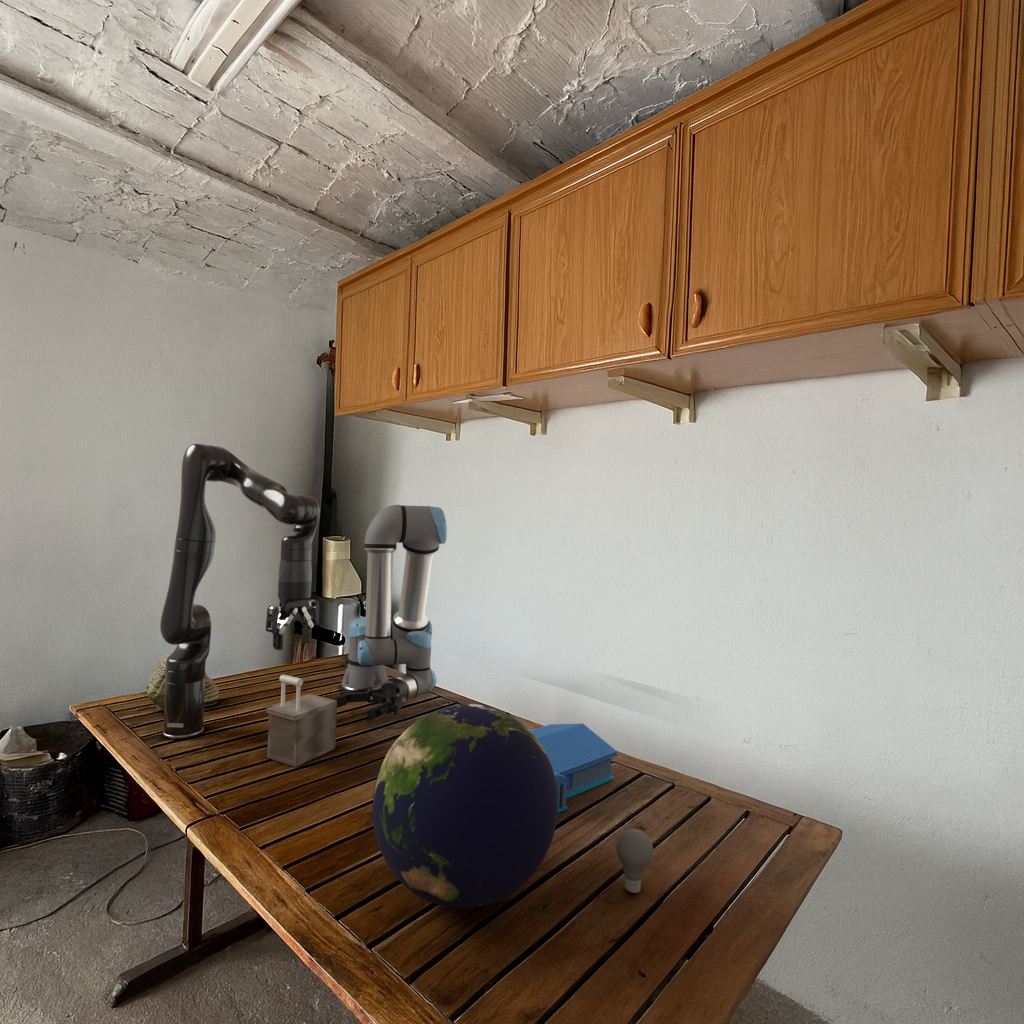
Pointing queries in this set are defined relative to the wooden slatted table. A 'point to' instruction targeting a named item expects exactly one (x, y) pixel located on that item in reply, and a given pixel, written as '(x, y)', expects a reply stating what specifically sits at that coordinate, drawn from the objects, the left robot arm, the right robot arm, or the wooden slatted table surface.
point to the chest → (301, 737)
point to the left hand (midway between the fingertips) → (292, 646)
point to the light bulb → (634, 857)
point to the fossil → (158, 687)
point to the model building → (575, 758)
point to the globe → (465, 806)
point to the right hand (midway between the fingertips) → (348, 710)
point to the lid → (298, 702)
